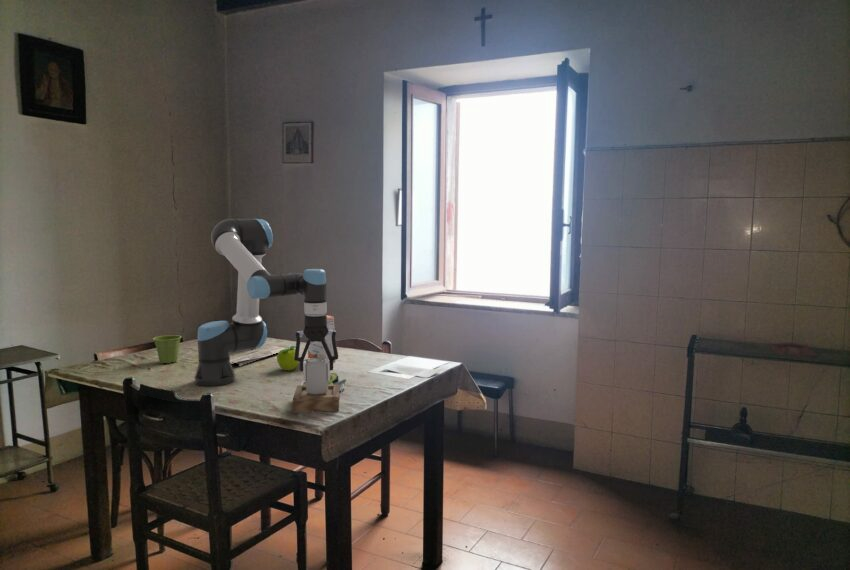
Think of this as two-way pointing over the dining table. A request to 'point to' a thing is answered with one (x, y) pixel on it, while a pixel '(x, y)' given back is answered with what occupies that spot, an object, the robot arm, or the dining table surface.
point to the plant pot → (167, 348)
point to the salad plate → (332, 381)
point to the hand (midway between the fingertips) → (317, 379)
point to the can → (316, 376)
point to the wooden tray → (316, 400)
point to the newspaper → (256, 355)
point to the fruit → (287, 359)
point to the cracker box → (316, 347)
